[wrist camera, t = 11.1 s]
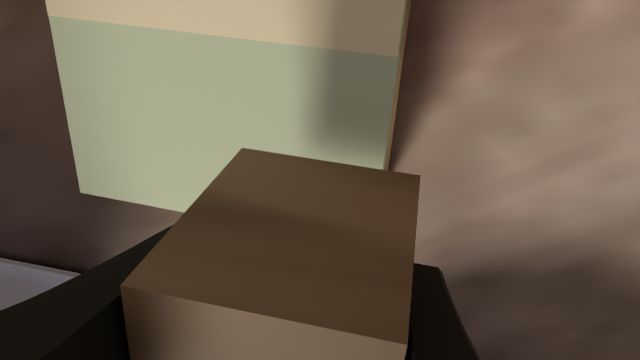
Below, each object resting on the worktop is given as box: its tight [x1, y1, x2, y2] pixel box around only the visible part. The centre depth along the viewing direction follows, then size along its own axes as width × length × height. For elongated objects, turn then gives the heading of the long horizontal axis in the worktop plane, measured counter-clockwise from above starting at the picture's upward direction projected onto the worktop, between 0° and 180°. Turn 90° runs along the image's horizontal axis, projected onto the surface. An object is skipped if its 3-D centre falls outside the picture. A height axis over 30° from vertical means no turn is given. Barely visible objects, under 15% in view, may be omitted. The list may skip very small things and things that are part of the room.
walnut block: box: [120, 148, 420, 360], centre depth 10 cm, size 4×4×5 cm
